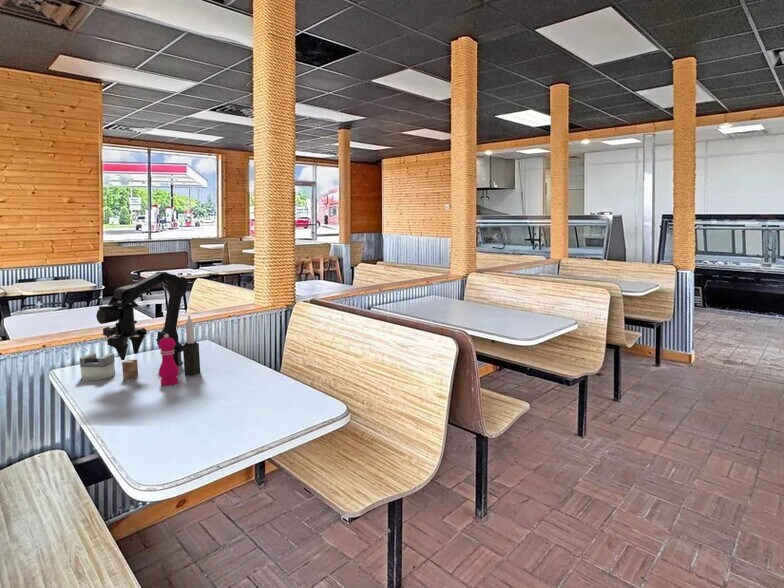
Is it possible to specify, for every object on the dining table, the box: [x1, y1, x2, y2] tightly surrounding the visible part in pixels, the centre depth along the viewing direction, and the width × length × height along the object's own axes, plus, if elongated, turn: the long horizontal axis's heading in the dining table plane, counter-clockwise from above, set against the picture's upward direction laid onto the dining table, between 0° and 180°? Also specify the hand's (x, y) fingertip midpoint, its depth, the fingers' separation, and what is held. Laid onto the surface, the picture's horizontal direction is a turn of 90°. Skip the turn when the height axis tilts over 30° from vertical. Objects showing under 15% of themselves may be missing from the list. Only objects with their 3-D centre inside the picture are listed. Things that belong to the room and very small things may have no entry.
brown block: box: [121, 359, 139, 380], centre depth 204 cm, size 4×4×7 cm
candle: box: [182, 315, 201, 377], centre depth 208 cm, size 5×5×25 cm
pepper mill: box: [157, 334, 180, 387], centre depth 197 cm, size 7×7×20 cm
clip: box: [79, 352, 116, 368], centre depth 205 cm, size 10×8×4 cm
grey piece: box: [80, 362, 116, 381], centre depth 206 cm, size 12×12×5 cm
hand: (129, 356), depth 204 cm, fingers open, 9 cm apart
